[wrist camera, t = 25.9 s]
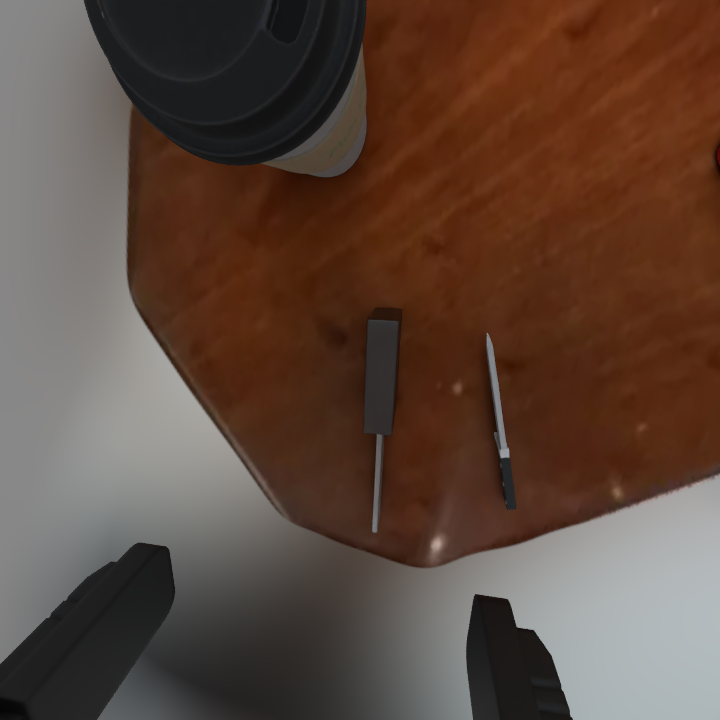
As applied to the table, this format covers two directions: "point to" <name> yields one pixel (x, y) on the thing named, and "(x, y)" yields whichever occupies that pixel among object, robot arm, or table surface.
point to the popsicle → (718, 155)
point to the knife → (500, 433)
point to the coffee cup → (244, 76)
